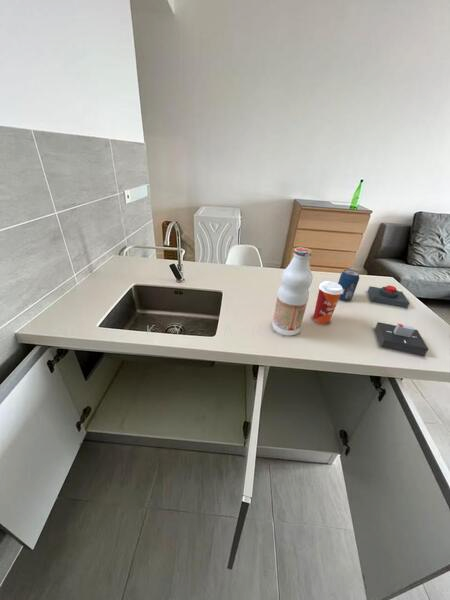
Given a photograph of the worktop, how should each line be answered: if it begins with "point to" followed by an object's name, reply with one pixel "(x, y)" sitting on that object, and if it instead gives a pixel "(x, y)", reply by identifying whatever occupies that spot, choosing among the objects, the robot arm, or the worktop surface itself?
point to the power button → (390, 289)
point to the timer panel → (400, 340)
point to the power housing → (387, 297)
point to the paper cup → (327, 301)
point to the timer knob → (403, 330)
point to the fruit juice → (293, 293)
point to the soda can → (348, 284)
